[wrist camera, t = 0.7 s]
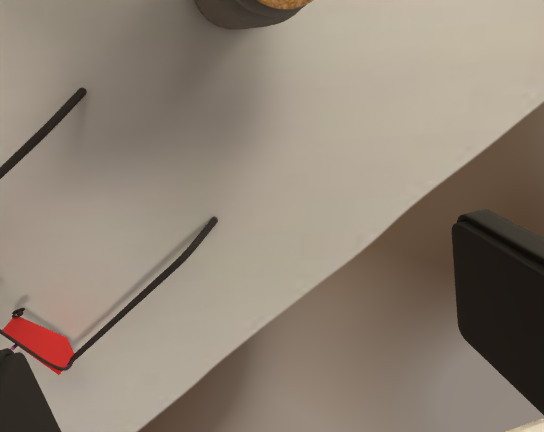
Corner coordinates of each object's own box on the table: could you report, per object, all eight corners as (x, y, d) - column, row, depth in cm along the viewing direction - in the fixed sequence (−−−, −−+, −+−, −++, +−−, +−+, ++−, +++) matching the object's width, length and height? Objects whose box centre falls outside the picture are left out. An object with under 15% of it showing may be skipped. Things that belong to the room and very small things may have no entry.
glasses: (-84, 243, 35) (-119, 274, 31) (82, 85, 34) (72, 92, 30) (71, 353, 41) (61, 392, 36) (218, 218, 40) (227, 242, 35)
